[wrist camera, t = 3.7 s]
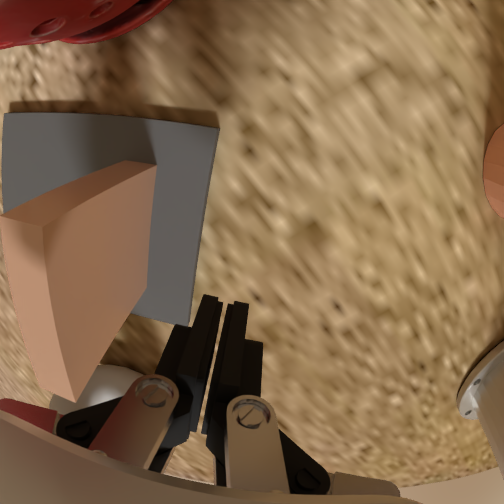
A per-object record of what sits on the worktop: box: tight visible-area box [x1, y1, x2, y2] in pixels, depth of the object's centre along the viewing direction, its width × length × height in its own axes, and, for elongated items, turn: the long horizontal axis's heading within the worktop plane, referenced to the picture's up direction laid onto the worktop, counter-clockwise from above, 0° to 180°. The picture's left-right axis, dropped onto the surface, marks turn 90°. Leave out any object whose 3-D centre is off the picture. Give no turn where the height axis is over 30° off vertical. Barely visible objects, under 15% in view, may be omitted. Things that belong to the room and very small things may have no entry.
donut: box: [49, 365, 144, 415], centre depth 20 cm, size 10×3×10 cm, turn 80°
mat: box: [2, 112, 220, 326], centre depth 18 cm, size 16×13×1 cm
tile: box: [0, 160, 157, 403], centre depth 14 cm, size 2×8×10 cm, turn 168°
